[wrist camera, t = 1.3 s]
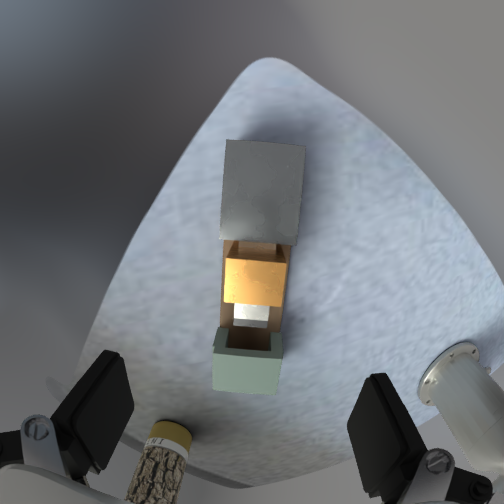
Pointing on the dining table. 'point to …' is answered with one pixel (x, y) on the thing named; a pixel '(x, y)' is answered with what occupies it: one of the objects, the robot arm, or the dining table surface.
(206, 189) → the dining table surface
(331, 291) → the dining table surface
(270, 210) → the sleeve
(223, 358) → the socket
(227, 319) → the board
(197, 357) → the dining table surface
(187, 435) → the brown bark cylinder
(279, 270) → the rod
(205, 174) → the dining table surface
